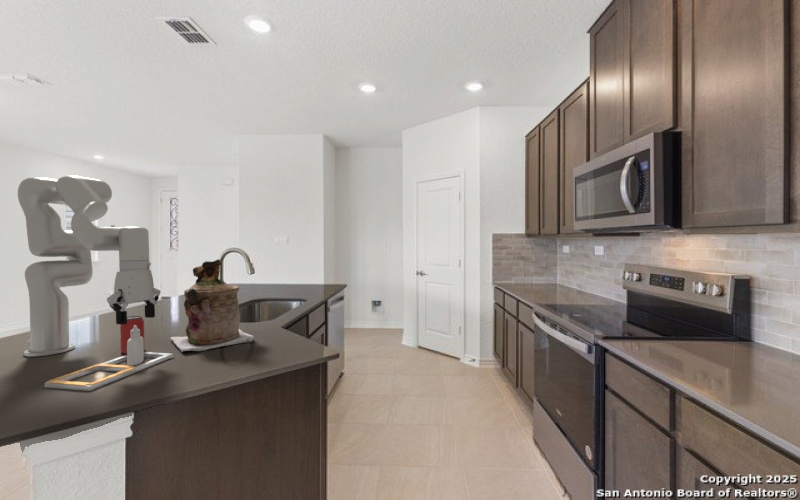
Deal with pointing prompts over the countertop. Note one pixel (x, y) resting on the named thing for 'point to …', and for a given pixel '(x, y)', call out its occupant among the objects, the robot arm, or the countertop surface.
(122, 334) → the beer can
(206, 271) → the cookie jar
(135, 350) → the eye dropper bottle
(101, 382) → the rail
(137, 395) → the countertop surface
